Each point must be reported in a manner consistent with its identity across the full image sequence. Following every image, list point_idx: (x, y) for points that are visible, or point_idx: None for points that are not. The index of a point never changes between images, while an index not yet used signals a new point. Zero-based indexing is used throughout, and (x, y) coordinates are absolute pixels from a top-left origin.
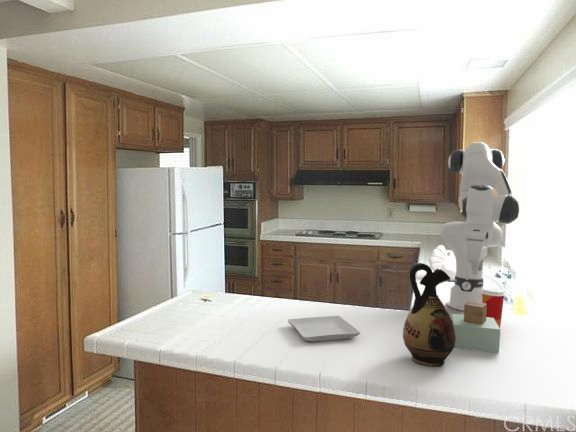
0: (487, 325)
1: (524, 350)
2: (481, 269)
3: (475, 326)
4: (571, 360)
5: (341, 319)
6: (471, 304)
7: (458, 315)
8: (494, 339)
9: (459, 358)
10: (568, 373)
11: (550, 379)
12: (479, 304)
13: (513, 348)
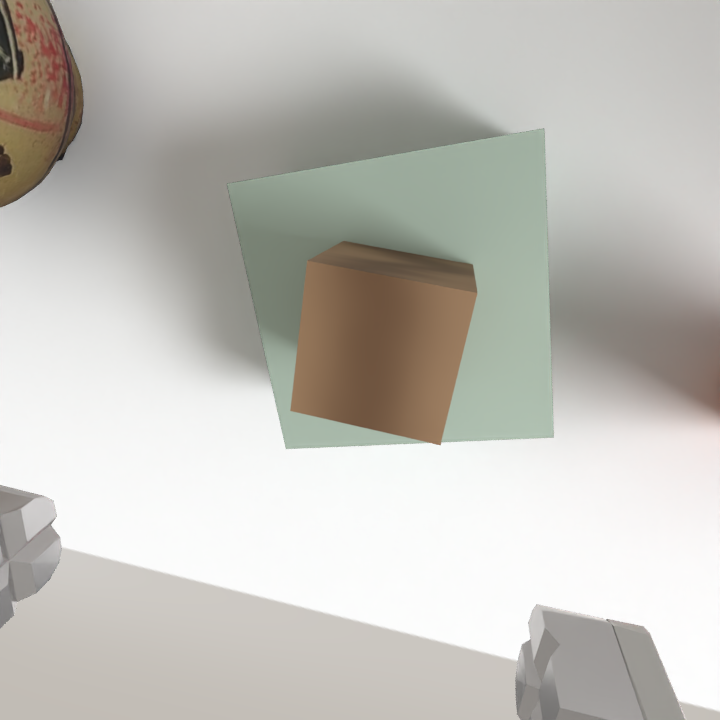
0: None
1: (411, 495)
2: (519, 710)
3: (267, 318)
4: (372, 624)
5: None
6: (338, 322)
7: (510, 190)
8: None
9: (141, 224)
10: (227, 581)
11: (138, 521)
12: (375, 387)
13: (417, 457)
